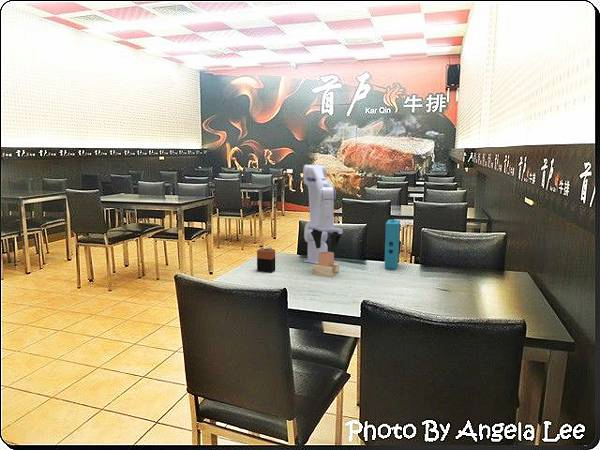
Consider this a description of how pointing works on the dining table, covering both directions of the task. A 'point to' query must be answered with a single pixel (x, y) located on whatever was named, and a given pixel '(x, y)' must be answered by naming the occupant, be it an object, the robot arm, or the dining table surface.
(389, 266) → the block
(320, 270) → the maple block
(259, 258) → the battery
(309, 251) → the robot arm
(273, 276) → the dining table surface
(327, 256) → the terracotta block
